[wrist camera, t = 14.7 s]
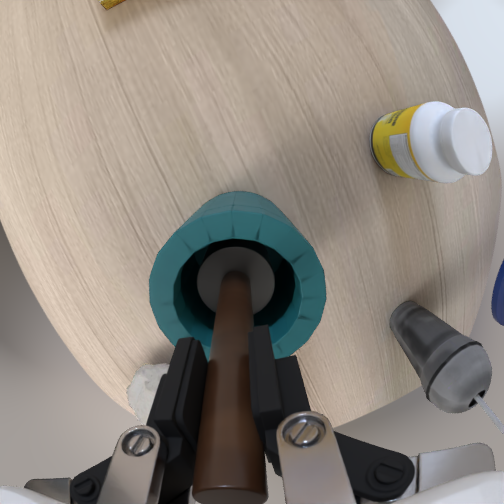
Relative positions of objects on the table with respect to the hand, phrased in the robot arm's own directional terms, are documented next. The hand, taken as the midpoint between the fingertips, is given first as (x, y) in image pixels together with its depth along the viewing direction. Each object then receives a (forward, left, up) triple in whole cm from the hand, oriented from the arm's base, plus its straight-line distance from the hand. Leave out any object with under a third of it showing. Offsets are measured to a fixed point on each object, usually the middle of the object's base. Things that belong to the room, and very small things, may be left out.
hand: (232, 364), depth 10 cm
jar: (0, 0, -17) cm, 17 cm away
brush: (0, 0, -12) cm, 12 cm away
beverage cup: (-18, +13, -17) cm, 28 cm away
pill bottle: (-17, -7, -17) cm, 25 cm away
